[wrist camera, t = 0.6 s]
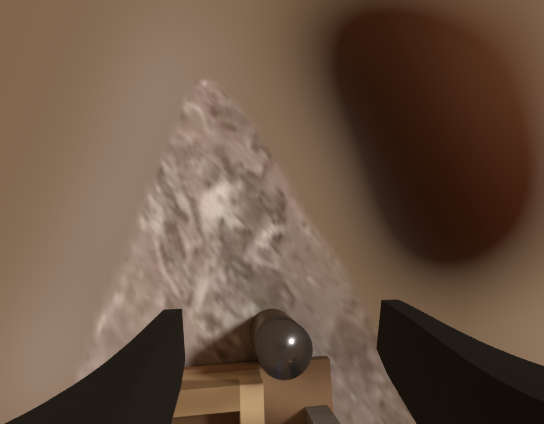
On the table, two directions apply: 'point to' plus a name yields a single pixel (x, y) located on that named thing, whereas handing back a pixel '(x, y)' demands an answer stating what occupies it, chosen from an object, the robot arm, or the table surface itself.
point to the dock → (275, 393)
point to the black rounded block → (280, 344)
